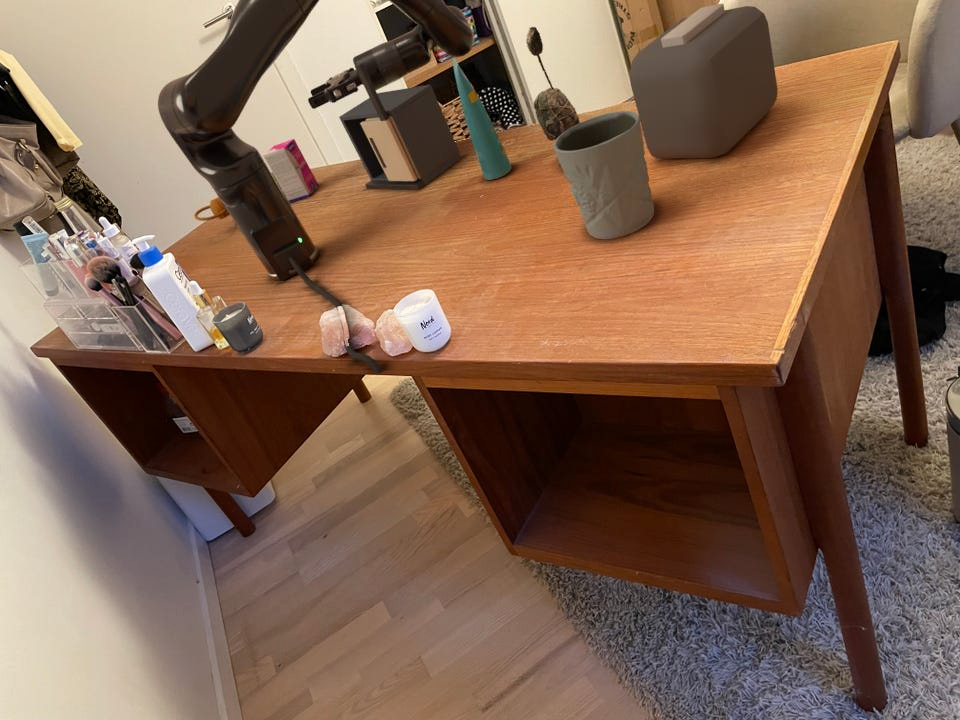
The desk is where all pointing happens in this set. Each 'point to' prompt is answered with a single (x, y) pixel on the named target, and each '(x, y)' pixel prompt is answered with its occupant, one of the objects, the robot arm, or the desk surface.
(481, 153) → the teal cone
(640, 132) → the grey embossed cup
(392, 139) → the door
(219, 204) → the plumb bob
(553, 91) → the plant with pod
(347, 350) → the robot arm
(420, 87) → the closet
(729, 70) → the alarm clock
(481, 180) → the desk surface
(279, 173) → the supplement box
